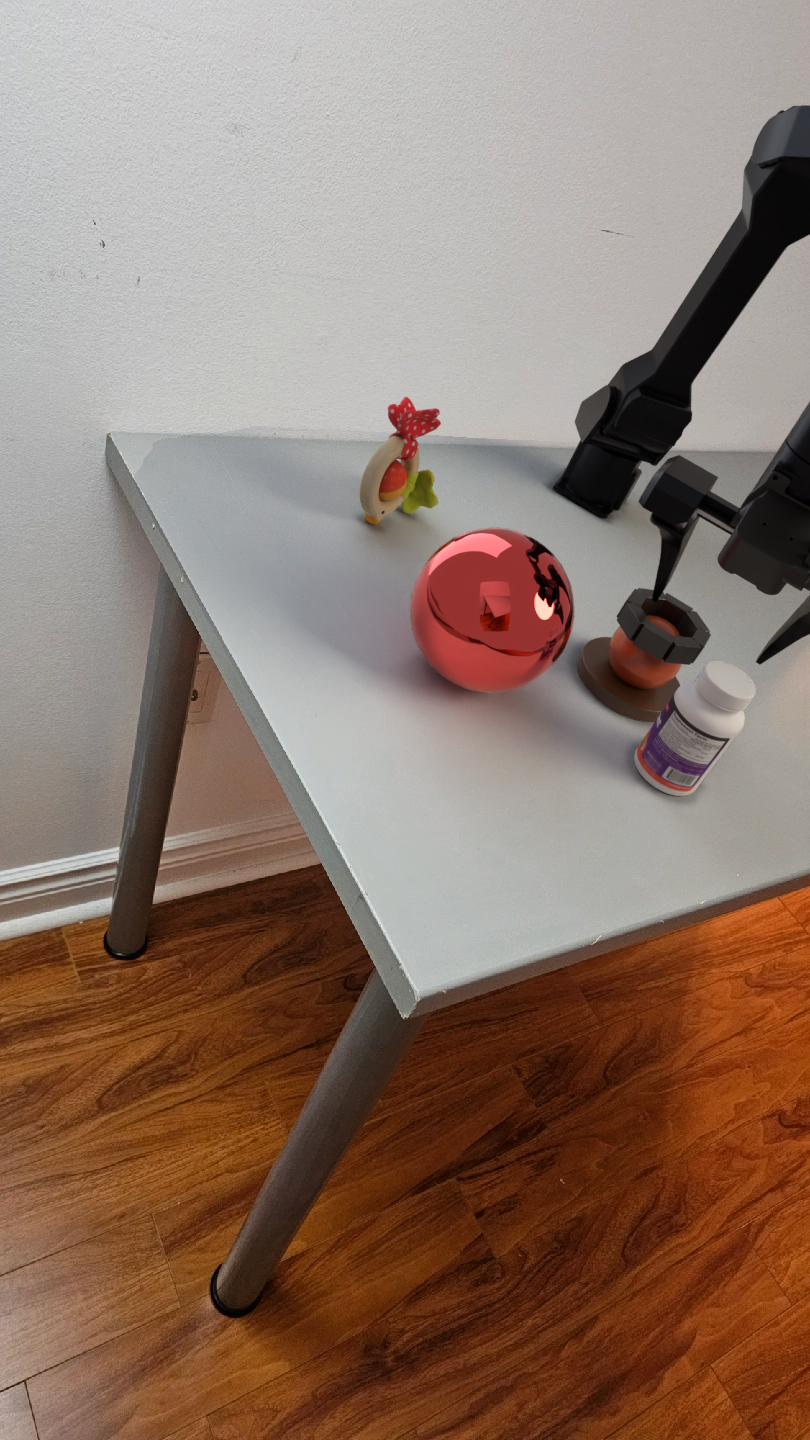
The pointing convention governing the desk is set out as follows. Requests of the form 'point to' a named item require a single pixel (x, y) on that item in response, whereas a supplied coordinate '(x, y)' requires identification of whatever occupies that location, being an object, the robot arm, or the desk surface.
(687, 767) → the pill bottle
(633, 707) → the ball stand
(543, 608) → the ball
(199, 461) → the desk surface
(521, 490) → the desk surface
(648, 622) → the black ring
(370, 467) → the bird rattle
